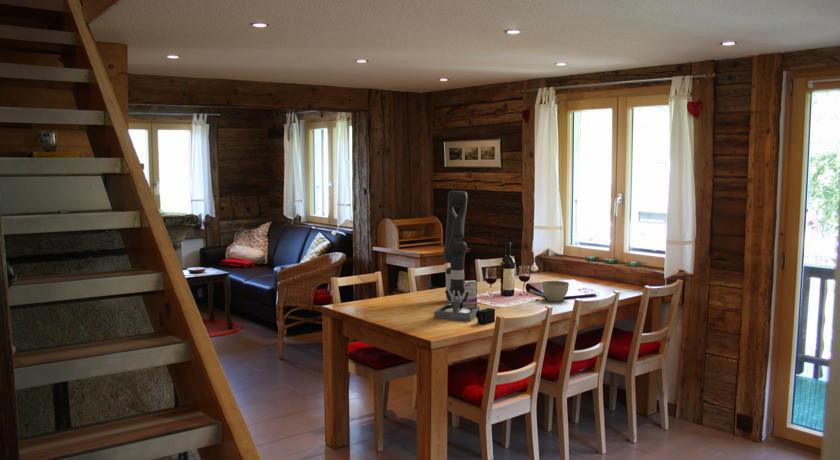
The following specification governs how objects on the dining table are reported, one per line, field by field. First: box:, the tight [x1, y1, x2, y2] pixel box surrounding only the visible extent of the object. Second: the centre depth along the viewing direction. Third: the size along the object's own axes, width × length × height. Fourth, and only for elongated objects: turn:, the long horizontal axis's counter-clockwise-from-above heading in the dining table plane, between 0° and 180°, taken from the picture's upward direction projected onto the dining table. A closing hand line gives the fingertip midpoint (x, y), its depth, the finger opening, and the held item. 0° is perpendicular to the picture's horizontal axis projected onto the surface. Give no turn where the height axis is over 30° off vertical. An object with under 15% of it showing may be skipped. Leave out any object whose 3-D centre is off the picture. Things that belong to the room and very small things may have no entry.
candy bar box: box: [457, 280, 478, 307], centre depth 400 cm, size 11×5×16 cm, turn 101°
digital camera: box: [475, 307, 496, 326], centre depth 367 cm, size 10×5×7 cm, turn 142°
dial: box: [445, 298, 470, 313], centre depth 382 cm, size 14×14×7 cm
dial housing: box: [433, 303, 481, 322], centre depth 383 cm, size 20×20×4 cm
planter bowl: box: [541, 280, 570, 302], centre depth 426 cm, size 16×16×11 cm
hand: (457, 308), depth 383 cm, fingers open, 3 cm apart
